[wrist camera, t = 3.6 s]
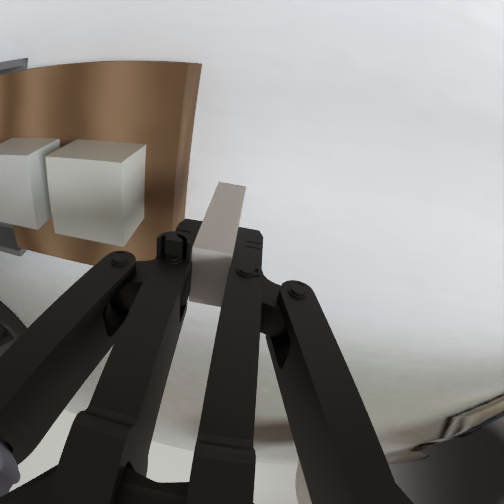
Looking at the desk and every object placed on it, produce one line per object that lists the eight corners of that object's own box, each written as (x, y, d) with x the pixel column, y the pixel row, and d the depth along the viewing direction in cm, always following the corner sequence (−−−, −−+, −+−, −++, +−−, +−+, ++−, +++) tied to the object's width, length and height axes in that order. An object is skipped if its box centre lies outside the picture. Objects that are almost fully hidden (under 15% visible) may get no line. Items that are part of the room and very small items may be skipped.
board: (38, 227, 25) (18, 247, 22) (27, 69, 16) (-2, 75, 13) (182, 255, 25) (171, 281, 23) (201, 63, 17) (188, 63, 14)
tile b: (80, 207, 19) (55, 233, 16) (77, 139, 17) (45, 156, 14) (144, 217, 20) (123, 246, 17) (146, 144, 17) (121, 162, 14)
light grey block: (18, 198, 19) (-9, 220, 16) (11, 138, 16) (-21, 154, 13) (64, 205, 19) (37, 229, 16) (59, 138, 17) (27, 155, 14)
